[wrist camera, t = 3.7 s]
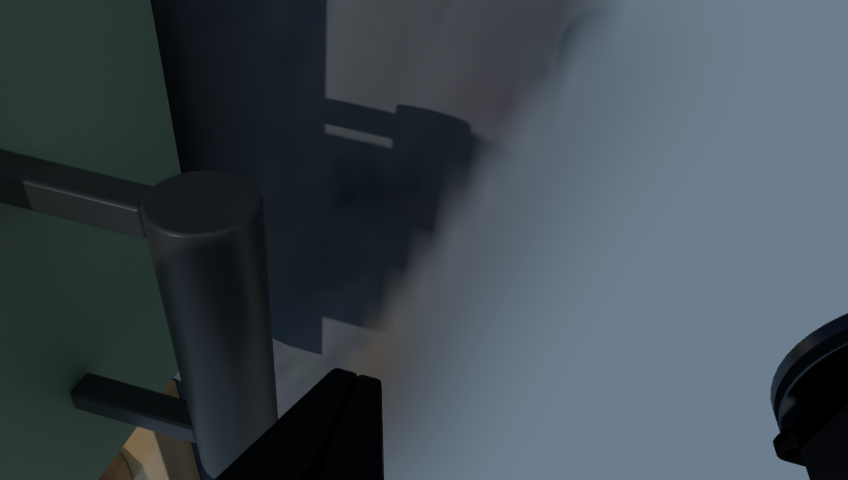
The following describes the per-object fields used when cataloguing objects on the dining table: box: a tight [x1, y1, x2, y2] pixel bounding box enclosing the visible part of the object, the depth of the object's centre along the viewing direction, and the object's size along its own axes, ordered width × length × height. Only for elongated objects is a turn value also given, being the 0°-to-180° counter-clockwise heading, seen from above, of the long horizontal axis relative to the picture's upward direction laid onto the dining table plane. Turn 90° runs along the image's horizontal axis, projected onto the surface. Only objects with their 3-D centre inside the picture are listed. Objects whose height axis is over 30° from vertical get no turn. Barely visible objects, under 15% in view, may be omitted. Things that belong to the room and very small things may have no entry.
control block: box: [99, 380, 201, 480], centre depth 23 cm, size 10×9×4 cm
